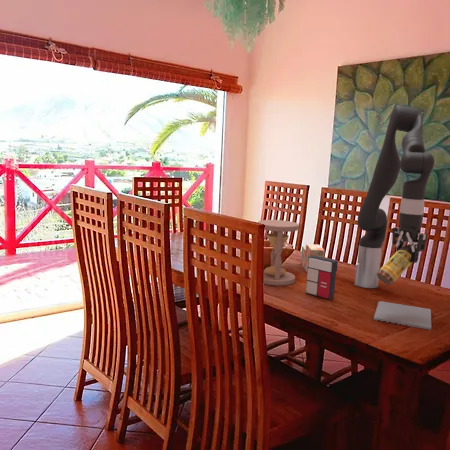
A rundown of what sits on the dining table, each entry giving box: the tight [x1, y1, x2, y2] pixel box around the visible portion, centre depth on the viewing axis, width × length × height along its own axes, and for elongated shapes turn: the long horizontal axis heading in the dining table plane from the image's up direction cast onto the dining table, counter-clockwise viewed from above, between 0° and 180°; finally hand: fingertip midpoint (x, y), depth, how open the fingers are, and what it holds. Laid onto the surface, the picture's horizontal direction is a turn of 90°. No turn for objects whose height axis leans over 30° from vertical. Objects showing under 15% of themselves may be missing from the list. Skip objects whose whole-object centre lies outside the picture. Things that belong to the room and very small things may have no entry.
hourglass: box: [257, 219, 300, 287], centre depth 199 cm, size 18×18×25 cm
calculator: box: [305, 255, 339, 300], centre depth 180 cm, size 11×4×15 cm, turn 47°
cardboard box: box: [300, 243, 326, 273], centre depth 220 cm, size 21×6×12 cm, turn 1°
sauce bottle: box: [377, 243, 416, 286], centre depth 159 cm, size 6×6×20 cm
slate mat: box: [373, 300, 432, 331], centre depth 163 cm, size 18×20×1 cm
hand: (406, 260), depth 159 cm, fingers closed on sauce bottle, 6 cm apart
